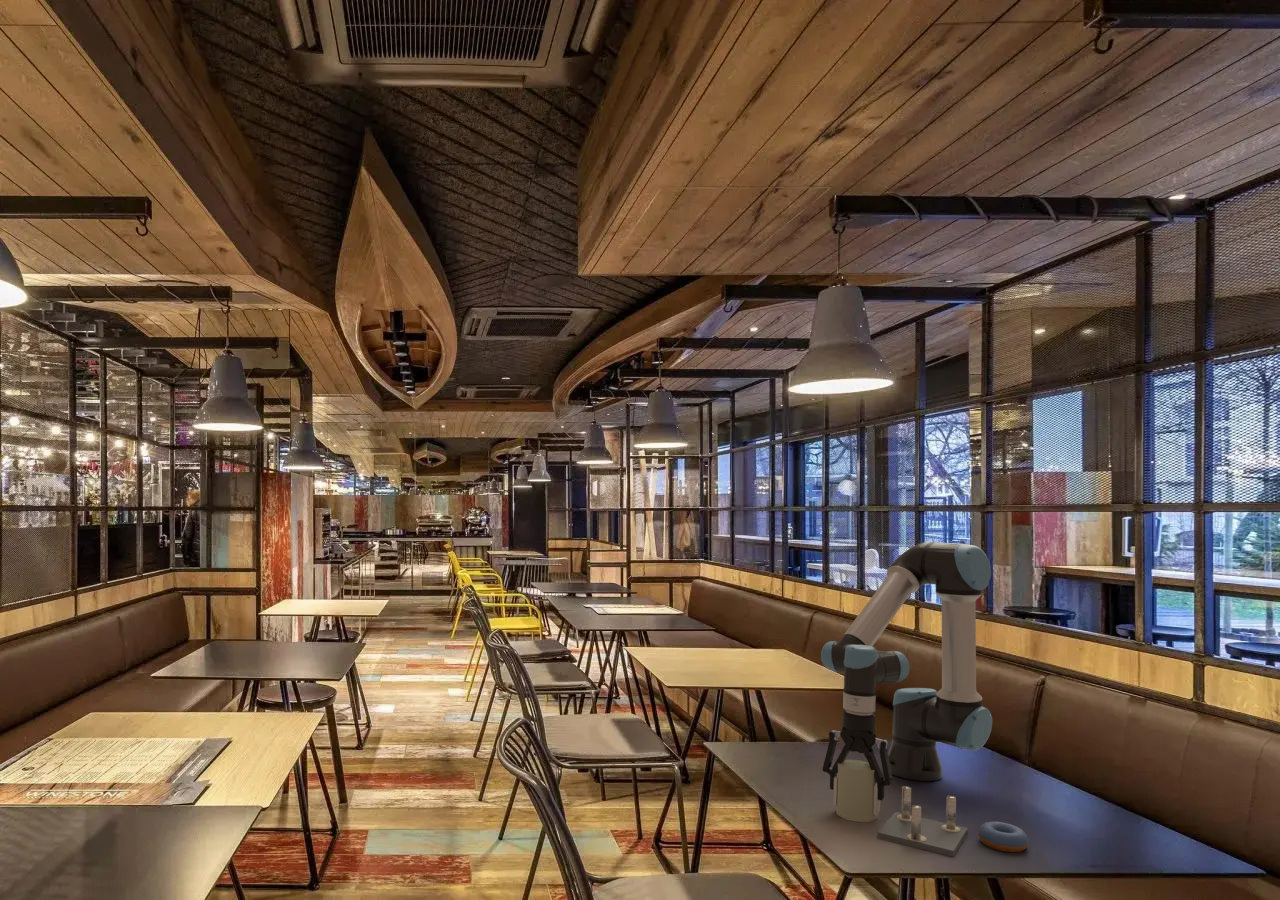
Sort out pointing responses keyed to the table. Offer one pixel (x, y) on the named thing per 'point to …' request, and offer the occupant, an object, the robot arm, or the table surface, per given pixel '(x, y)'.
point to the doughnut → (1003, 836)
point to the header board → (924, 835)
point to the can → (855, 791)
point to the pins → (916, 813)
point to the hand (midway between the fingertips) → (856, 808)
